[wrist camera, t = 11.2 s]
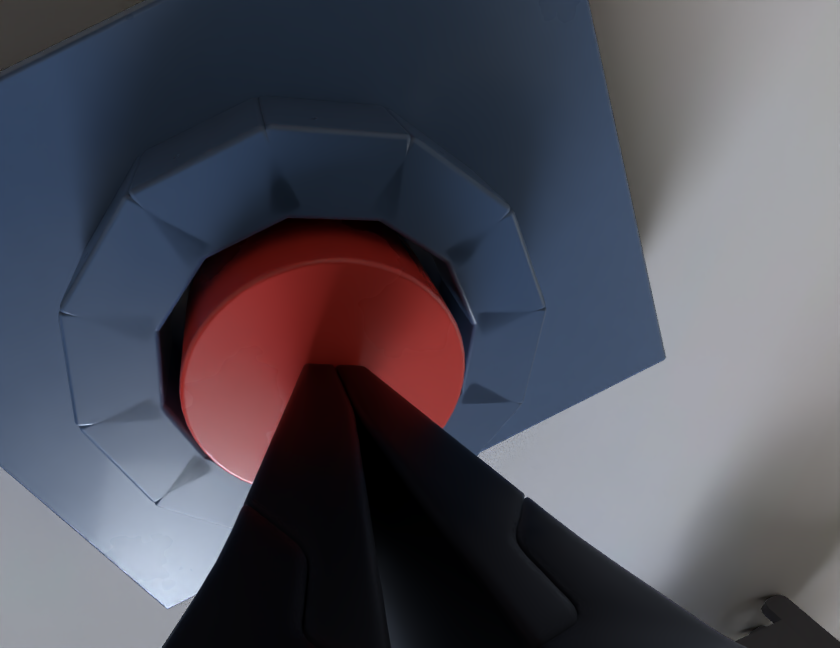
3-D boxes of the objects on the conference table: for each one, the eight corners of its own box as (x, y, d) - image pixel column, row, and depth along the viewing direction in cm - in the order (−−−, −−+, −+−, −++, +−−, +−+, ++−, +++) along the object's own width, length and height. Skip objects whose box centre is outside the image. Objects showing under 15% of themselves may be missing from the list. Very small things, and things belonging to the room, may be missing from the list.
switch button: (265, 448, 12) (273, 534, 10) (131, 278, 10) (113, 350, 8) (460, 351, 12) (501, 420, 10) (371, 158, 10) (404, 205, 8)
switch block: (173, 532, 16) (160, 693, 12) (-199, 169, 10) (-406, 282, 7) (615, 310, 16) (721, 410, 12) (489, -170, 10) (619, -224, 7)
